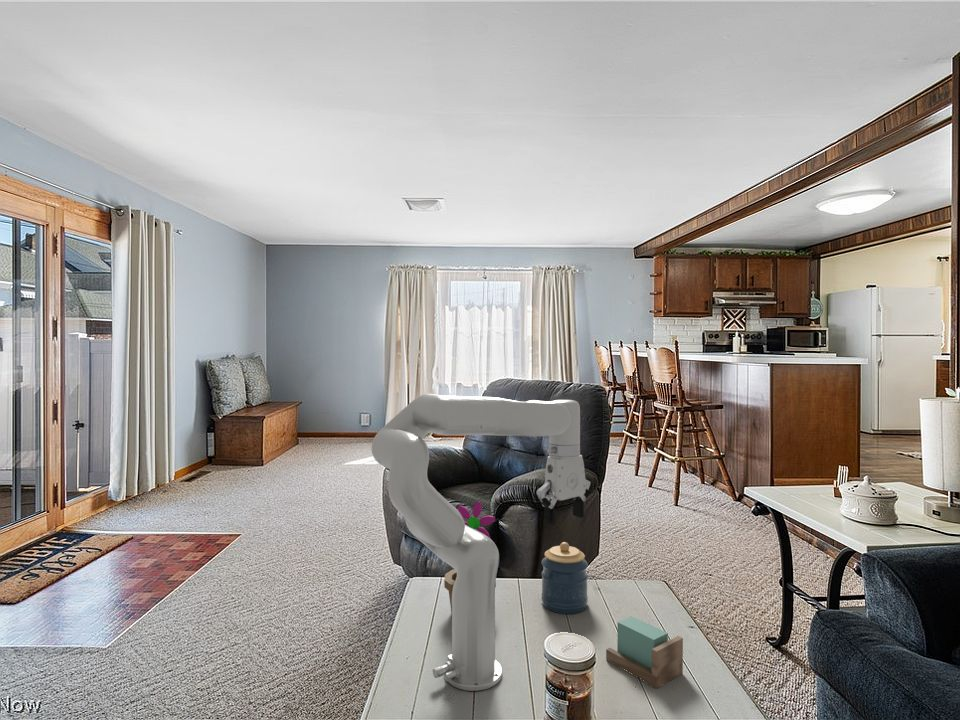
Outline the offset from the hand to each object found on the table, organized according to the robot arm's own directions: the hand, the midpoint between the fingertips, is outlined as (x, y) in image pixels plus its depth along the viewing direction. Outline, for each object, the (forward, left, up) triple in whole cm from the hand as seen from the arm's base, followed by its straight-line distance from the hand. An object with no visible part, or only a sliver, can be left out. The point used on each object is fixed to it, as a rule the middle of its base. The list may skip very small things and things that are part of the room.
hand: (564, 520), depth 137 cm
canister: (+15, +15, -31) cm, 37 cm away
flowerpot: (-10, +26, -31) cm, 41 cm away
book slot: (+7, -18, -30) cm, 36 cm away
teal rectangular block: (+7, -18, -30) cm, 36 cm away
